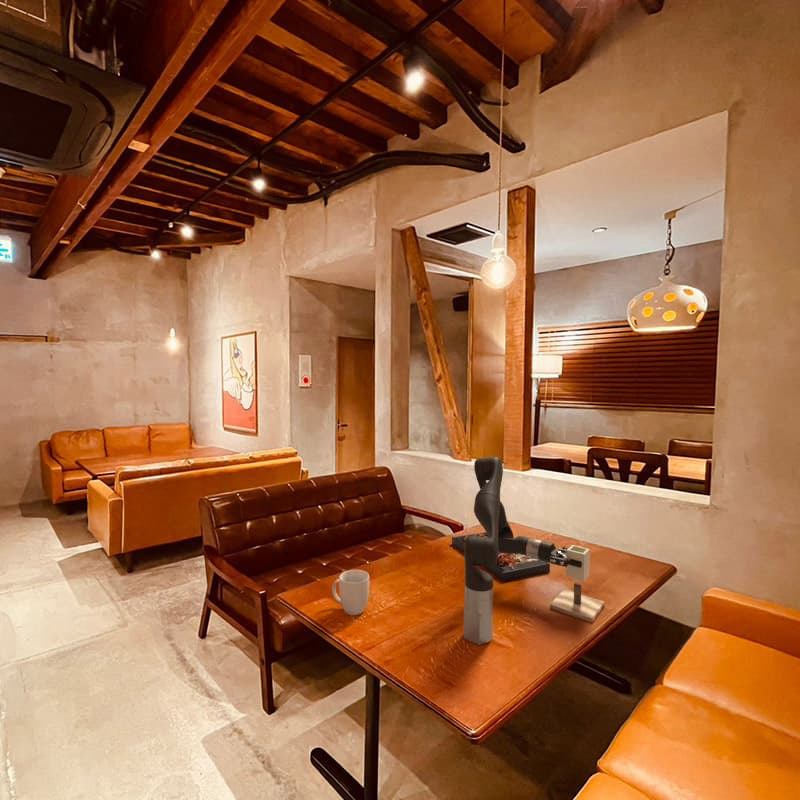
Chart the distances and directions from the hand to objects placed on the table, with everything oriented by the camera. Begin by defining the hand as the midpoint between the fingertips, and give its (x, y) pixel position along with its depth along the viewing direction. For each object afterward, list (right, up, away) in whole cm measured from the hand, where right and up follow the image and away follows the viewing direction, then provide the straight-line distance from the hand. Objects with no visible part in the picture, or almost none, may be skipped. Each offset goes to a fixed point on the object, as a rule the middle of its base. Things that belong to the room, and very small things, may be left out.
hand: (584, 561), depth 160 cm
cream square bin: (-2, -6, +2) cm, 6 cm away
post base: (-2, -18, +2) cm, 18 cm away
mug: (-86, -18, 0) cm, 88 cm away
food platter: (-22, -16, +48) cm, 55 cm away
